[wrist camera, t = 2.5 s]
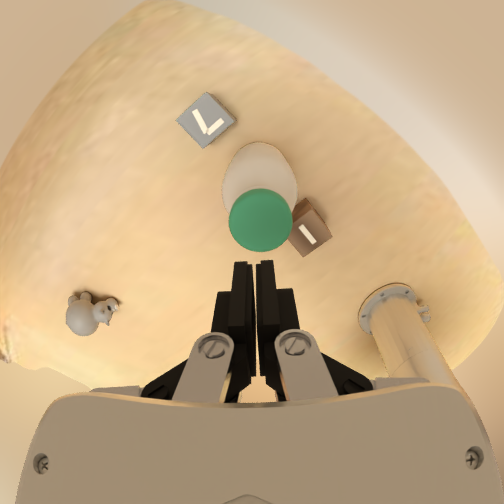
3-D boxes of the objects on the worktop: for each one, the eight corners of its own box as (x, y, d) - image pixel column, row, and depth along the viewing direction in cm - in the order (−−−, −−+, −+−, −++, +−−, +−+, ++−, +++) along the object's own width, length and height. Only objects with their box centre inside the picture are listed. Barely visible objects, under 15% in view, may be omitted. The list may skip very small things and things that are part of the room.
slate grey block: (212, 94, 32) (205, 91, 27) (237, 120, 34) (234, 121, 29) (185, 119, 34) (175, 120, 29) (209, 144, 35) (202, 149, 31)
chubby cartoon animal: (125, 307, 53) (125, 334, 46) (78, 319, 50) (73, 346, 43) (114, 280, 50) (111, 305, 43) (64, 293, 46) (56, 319, 39)
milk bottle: (229, 142, 35) (201, 173, 18) (286, 141, 35) (317, 171, 17) (232, 196, 39) (211, 272, 21) (286, 194, 39) (311, 270, 21)
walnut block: (305, 197, 39) (312, 209, 34) (324, 222, 41) (332, 237, 36) (278, 217, 40) (281, 232, 36) (298, 241, 42) (303, 258, 38)
